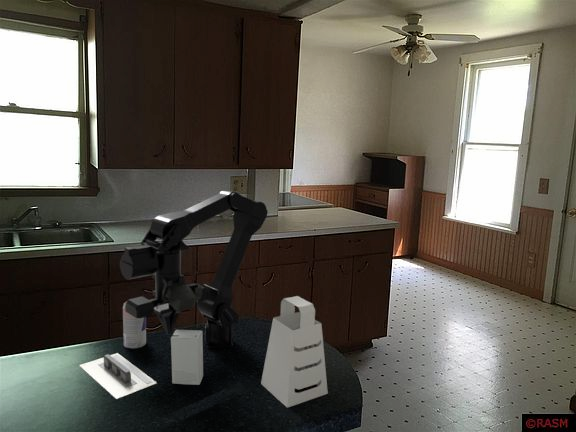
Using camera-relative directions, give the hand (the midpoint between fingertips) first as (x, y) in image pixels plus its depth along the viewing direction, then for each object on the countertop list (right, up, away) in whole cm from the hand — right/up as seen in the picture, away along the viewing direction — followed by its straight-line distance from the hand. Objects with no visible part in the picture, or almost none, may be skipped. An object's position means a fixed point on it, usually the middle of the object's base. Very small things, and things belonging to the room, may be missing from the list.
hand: (168, 334), depth 109 cm
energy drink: (-10, -6, +7) cm, 13 cm away
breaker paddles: (-9, -7, -8) cm, 14 cm away
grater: (+29, -10, -8) cm, 32 cm away
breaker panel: (-9, -8, -8) cm, 15 cm away
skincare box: (+6, -9, -9) cm, 14 cm away
